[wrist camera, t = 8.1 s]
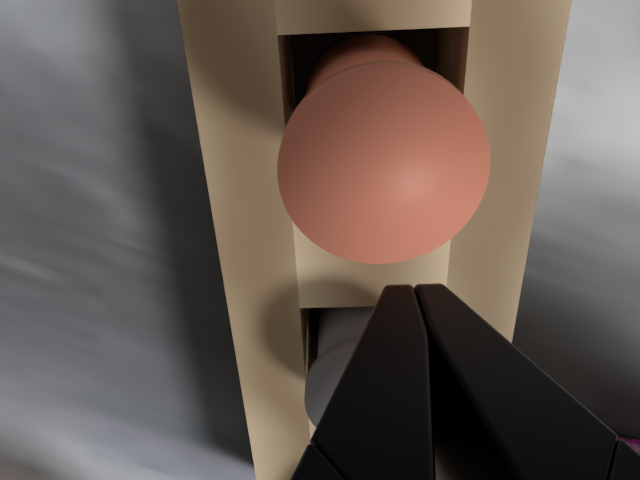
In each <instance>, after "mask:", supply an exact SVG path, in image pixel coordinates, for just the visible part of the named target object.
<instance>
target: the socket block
mask: <svg viewBox="0 0 640 480" xmlns="http://www.w3.org/2000/svg"><path fill="white" fill-rule="evenodd" d="M571 2H572V0H177V5H178V11H179V17H180V23H181V29H182V36H183V42H184V48H185V54H186V60H187V66H188V72H189V78H190V84H191V90H192V96H193V102H194V108H195V114H196V120H197V126H198V132H199V138H200V144H201V150H202V156H203V162H204V168H205V174H206V180H207V186H208V192H209V198H210V204H211V210H212V216H213V222H214V228H215V234H216V240H217V246H218V252H219V258H220V264H221V270H222V276H223V282H224V288H225V294H226V300H227V306H228V312H229V318H230V324H231V330H232V336H233V342H234V348H235V354H236V360H237V366H238V372H239V378H240V384H241V390H242V396H243V402H244V408H245V414H246V420H247V426H248V432H249V438H250V444H251V450H252V456H253V462H254V468H255V474H256V480H290V479H291V477H292V475H293V474H294V472H295V470H296V468H297V466H298V464H299V462H300V459H301V457H302V455H303V453H304V451H305V449H306V447H307V445H309V444H310V440H311V437H312V435H313V433H314V431H315V429H316V427H315V426H314V425H313V424H312V422H311V421H310V419H309V417H308V415H307V412H306V410H305V404H304V396H305V382H306V377H307V374H308V372H309V370H310V368H311V366H312V364H313V363H314V362H315V361H316V359H317V358H318V334H312V332H311V317H310V308H328V307H368V306H375V305H376V303H377V301H378V299H379V297H380V294H381V292H382V290H383V288H384V287H385V286H386V285H395V284H410V285H412V286H413V287H415V285H417V284H433V283H440V284H443V285H445V286H446V287H447V288H448V289H450V290H451V291H452V292H453V293H454V294H455V295H456V296H458V297H459V298H460V299H461V300H462V301H463V302H465V303H466V304H467V305H468V306H469V307H470V308H472V309H473V310H474V311H475V312H476V313H477V314H478V315H480V316H481V317H482V318H483V319H484V320H485V321H487V322H488V323H489V324H490V325H491V326H492V327H493V328H495V329H496V330H497V331H498V332H499V333H500V334H502V335H503V336H504V337H505V338H506V339H507V340H508V341H510V342H511V343H512V339H513V333H514V327H515V322H516V316H517V310H518V304H519V299H520V293H521V287H522V282H523V276H524V270H525V265H526V259H527V253H528V247H529V242H530V236H531V230H532V225H533V219H534V213H535V207H536V202H537V196H538V190H539V185H540V179H541V173H542V168H543V162H544V156H545V150H546V145H547V139H548V133H549V128H550V122H551V116H552V111H553V105H554V99H555V93H556V88H557V82H558V76H559V71H560V65H561V59H562V53H563V48H564V42H565V36H566V31H567V25H568V19H569V14H570V8H571ZM425 28H438V43H437V59H436V73H437V74H439V75H441V76H442V77H444V78H445V79H447V80H448V81H449V82H451V83H452V84H453V85H454V86H455V87H456V88H457V89H458V90H459V91H460V92H461V93H462V94H463V95H464V97H465V98H466V99H467V100H468V101H469V103H470V104H471V105H472V107H473V108H474V110H475V111H476V113H477V115H478V116H479V118H480V120H481V122H482V124H483V127H484V129H485V131H486V135H487V139H488V143H489V148H490V173H489V178H488V184H487V187H486V190H485V193H484V196H483V198H482V200H481V202H480V204H479V206H478V208H477V210H476V211H475V213H474V214H473V216H472V217H471V219H470V220H469V221H468V222H467V224H466V225H465V226H464V227H463V228H462V229H461V230H460V231H459V232H458V233H457V234H456V235H455V236H454V237H453V238H451V239H450V240H449V241H447V242H446V243H444V244H443V245H442V246H440V247H438V248H436V249H435V250H433V251H431V252H429V253H427V254H424V255H422V256H420V257H417V258H413V259H410V260H407V261H402V262H397V263H388V264H368V263H360V262H355V261H351V260H347V259H343V258H341V257H338V256H336V255H333V254H331V253H329V252H327V251H325V250H323V249H322V248H320V247H319V246H317V245H316V244H314V243H313V242H312V241H311V240H309V239H308V238H307V237H306V236H305V235H304V234H303V233H302V232H301V231H300V230H299V229H298V227H297V226H296V225H295V224H294V222H293V221H292V219H291V218H290V216H289V214H288V212H287V210H286V208H285V206H284V204H283V201H282V198H281V195H280V192H279V186H278V180H277V163H278V155H279V150H280V145H281V141H282V137H283V134H284V130H285V128H286V126H287V123H288V121H289V119H290V117H291V115H292V114H293V112H294V110H295V108H296V103H295V88H294V74H293V60H292V45H291V35H292V34H314V33H336V32H359V31H381V30H403V29H425Z"/></svg>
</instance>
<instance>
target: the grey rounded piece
mask: <svg viewBox="0 0 640 480" xmlns="http://www.w3.org/2000/svg"><path fill="white" fill-rule="evenodd" d="M374 307H375V306H368V307H328V308H319V332H318V358H317V359H316V361H315V362H314V363H313V364H312V366H311V368H310V370H309V372H308V374H307V377H306V382H305V396H304V404H305V410H306V412H307V415H308V417H309V419H310V421H311V422H312V424H313V425H314V426H315V427H317V425H318V423H319V421H320V419H321V417H322V415H323V413H324V410H325V408H326V406H327V404H328V402H329V400H330V398H331V396H332V394H333V392H334V390H335V388H336V386H337V384H338V381H339V379H340V377H341V375H342V373H343V371H344V369H345V367H346V365H347V363H348V361H349V359H350V357H351V355H352V352H353V350H354V348H355V346H356V344H357V342H358V340H359V338H360V336H361V334H362V332H363V330H364V328H365V326H366V323H367V321H368V319H369V317H370V315H371V313H372V311H373V309H374Z"/></svg>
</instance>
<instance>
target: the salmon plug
mask: <svg viewBox="0 0 640 480" xmlns="http://www.w3.org/2000/svg"><path fill="white" fill-rule="evenodd" d="M489 173H490V148H489V143H488V139H487V135H486V131H485V129H484V127H483V124H482V122H481V120H480V118H479V116H478V115H477V113H476V111H475V110H474V108H473V107H472V105H471V104H470V103H469V101H468V100H467V99H466V98H465V97H464V95H463V94H462V93H461V92H460V91H459V90H458V89H457V88H456V87H455V86H454V85H453V84H452V83H451V82H449V81H448V80H447V79H445V78H444V77H442V76H441V75H439V74H437V73H435V72H433V71H431V70H429V69H427V68H425V67H424V66H423V64H422V62H421V61H420V59H419V58H418V57H417V56H416V54H415V53H414V52H413V51H412V50H411V49H410V48H408V47H407V46H406V45H404V44H403V43H401V42H399V41H397V40H395V39H393V38H390V37H387V36H382V35H376V34H366V35H358V36H354V37H350V38H348V39H346V40H343V41H341V42H339V43H338V44H336V45H334V46H333V47H332V48H330V49H329V50H328V51H327V52H326V53H325V54H324V55H323V56H322V57H321V58H320V59H319V61H318V62H317V63H316V65H315V67H314V69H313V70H312V73H311V75H310V77H309V81H308V84H307V89H306V96H305V97H304V98H303V99H302V101H301V102H300V103H299V104H298V106H297V107H296V108H295V110H294V112H293V114H292V115H291V117H290V119H289V121H288V123H287V126H286V128H285V130H284V134H283V137H282V141H281V145H280V150H279V155H278V163H277V180H278V186H279V192H280V195H281V198H282V201H283V204H284V206H285V208H286V210H287V212H288V214H289V216H290V218H291V219H292V221H293V222H294V224H295V225H296V226H297V227H298V229H299V230H300V231H301V232H302V233H303V234H304V235H305V236H306V237H307V238H308V239H309V240H311V241H312V242H313V243H314V244H316V245H317V246H319V247H320V248H322V249H323V250H325V251H327V252H329V253H331V254H333V255H336V256H338V257H341V258H343V259H347V260H351V261H355V262H360V263H368V264H388V263H397V262H402V261H407V260H410V259H413V258H417V257H420V256H422V255H424V254H427V253H429V252H431V251H433V250H435V249H436V248H438V247H440V246H442V245H443V244H444V243H446V242H447V241H449V240H450V239H451V238H453V237H454V236H455V235H456V234H457V233H458V232H459V231H460V230H461V229H462V228H463V227H464V226H465V225H466V224H467V222H468V221H469V220H470V219H471V217H472V216H473V214H474V213H475V211H476V210H477V208H478V206H479V204H480V202H481V200H482V198H483V196H484V193H485V190H486V187H487V184H488V178H489Z"/></svg>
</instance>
